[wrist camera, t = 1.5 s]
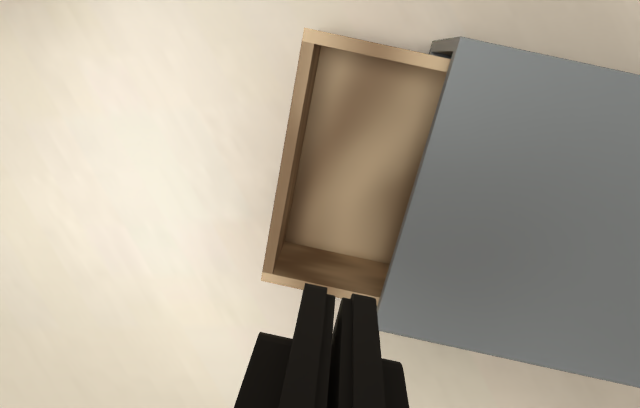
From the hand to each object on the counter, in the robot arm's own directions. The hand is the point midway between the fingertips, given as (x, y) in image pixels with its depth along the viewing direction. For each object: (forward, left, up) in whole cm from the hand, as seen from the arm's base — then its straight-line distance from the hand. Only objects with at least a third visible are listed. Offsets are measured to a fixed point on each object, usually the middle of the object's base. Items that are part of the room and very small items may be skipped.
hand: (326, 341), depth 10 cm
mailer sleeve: (-14, 0, -19) cm, 23 cm away
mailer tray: (-6, 0, -18) cm, 19 cm away
